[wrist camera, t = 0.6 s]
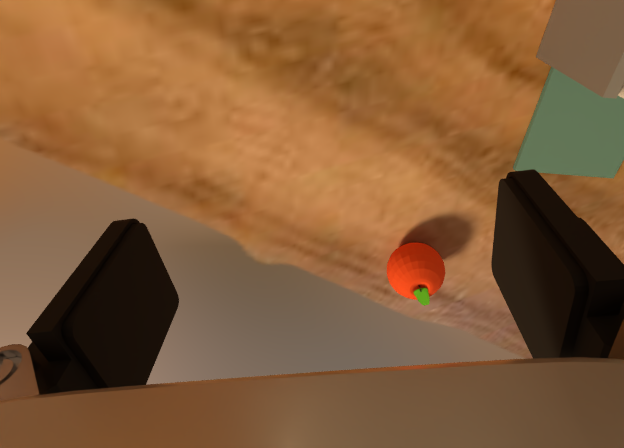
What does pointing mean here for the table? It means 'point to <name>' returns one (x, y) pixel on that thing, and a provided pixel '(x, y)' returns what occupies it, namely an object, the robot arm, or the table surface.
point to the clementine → (416, 271)
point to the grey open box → (587, 44)
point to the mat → (573, 131)
